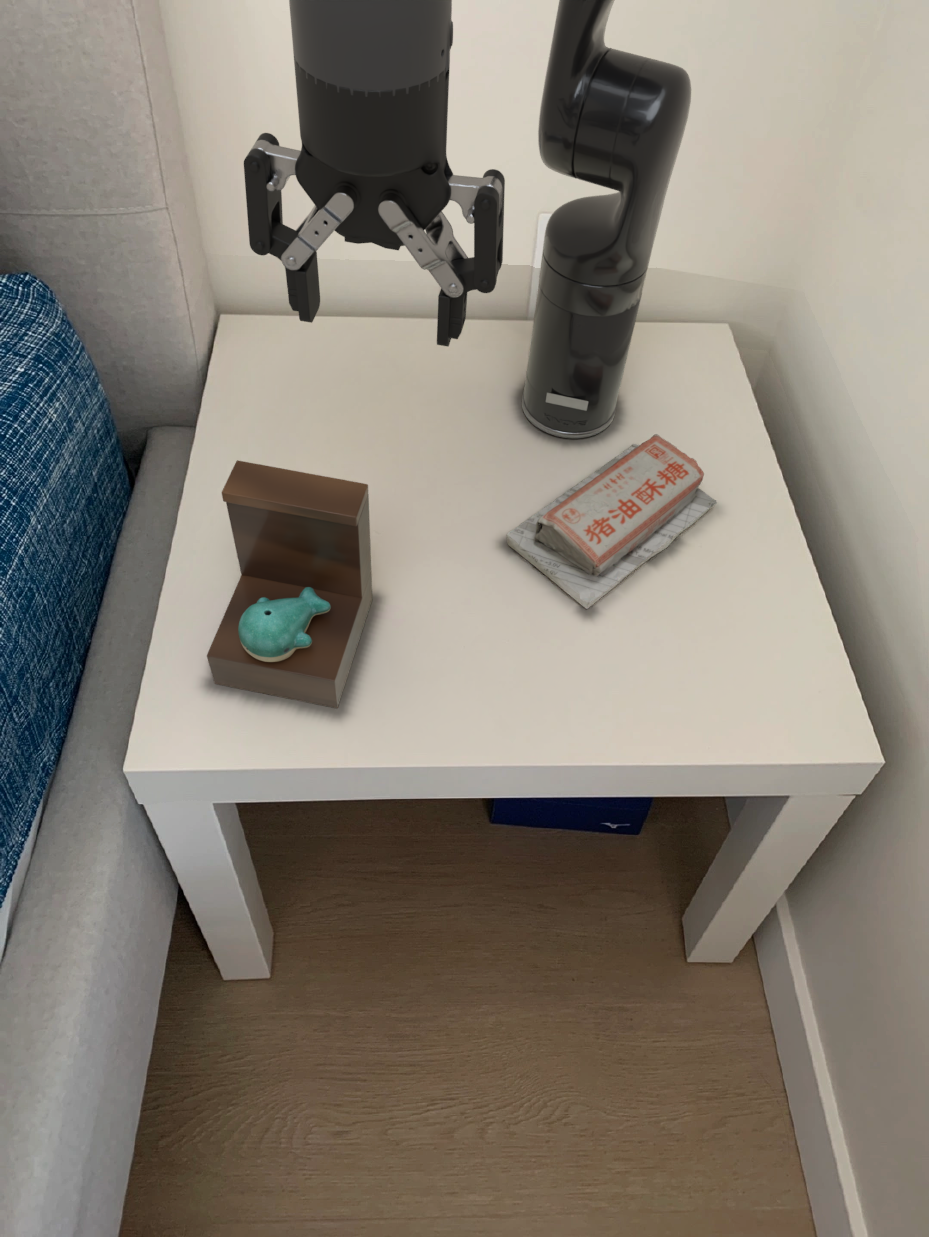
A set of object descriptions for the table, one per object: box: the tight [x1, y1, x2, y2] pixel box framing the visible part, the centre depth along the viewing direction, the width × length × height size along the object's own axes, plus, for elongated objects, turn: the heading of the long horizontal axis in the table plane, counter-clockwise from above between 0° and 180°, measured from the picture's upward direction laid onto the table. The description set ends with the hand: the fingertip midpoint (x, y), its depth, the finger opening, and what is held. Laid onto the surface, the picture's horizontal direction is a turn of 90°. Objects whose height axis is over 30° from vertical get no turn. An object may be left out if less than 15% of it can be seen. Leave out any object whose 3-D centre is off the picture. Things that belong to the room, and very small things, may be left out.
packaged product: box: [506, 433, 718, 610], centre depth 87 cm, size 18×5×10 cm
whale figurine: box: [238, 587, 331, 662], centre depth 74 cm, size 6×7×4 cm
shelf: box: [206, 460, 373, 709], centre depth 74 cm, size 11×10×14 cm
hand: (378, 326), depth 60 cm, fingers open, 8 cm apart
